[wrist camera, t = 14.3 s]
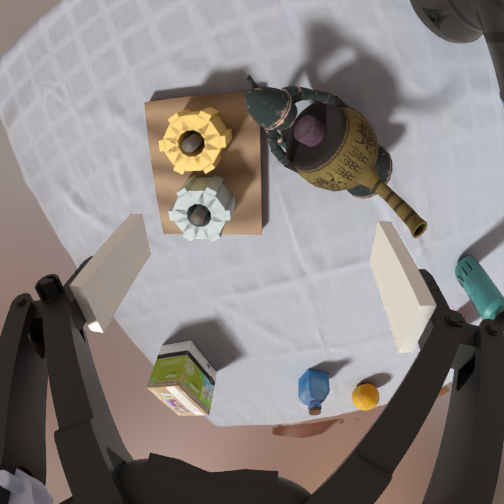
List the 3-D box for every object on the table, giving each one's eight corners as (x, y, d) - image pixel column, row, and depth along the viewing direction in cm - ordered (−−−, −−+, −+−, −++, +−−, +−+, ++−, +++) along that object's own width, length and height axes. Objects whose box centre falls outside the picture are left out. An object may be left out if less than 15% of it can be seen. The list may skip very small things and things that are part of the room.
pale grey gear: (170, 190, 48) (158, 205, 43) (213, 163, 45) (204, 174, 40) (202, 233, 52) (194, 251, 47) (245, 210, 49) (241, 226, 44)
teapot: (358, 118, 45) (249, 41, 31) (466, 207, 28) (371, 89, 15) (318, 170, 50) (202, 113, 37) (403, 275, 34) (263, 230, 21)
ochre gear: (175, 164, 46) (163, 175, 41) (170, 110, 41) (155, 115, 36) (233, 161, 45) (227, 173, 40) (230, 105, 40) (223, 109, 35)
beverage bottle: (460, 248, 51) (506, 311, 35) (478, 255, 52) (522, 315, 35) (446, 272, 55) (485, 338, 38) (464, 278, 55) (502, 340, 39)
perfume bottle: (328, 372, 76) (331, 409, 66) (317, 383, 79) (319, 418, 69) (308, 368, 75) (310, 406, 65) (298, 379, 78) (298, 415, 68)
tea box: (218, 371, 79) (210, 416, 66) (189, 375, 82) (178, 417, 69) (191, 338, 72) (177, 386, 59) (160, 344, 74) (144, 388, 62)
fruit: (345, 388, 80) (348, 410, 74) (365, 376, 76) (369, 399, 70) (362, 395, 82) (366, 416, 76) (382, 383, 79) (386, 405, 72)
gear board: (149, 101, 42) (124, 107, 34) (259, 91, 40) (255, 93, 33) (167, 228, 55) (150, 254, 47) (262, 229, 53) (259, 256, 46)
